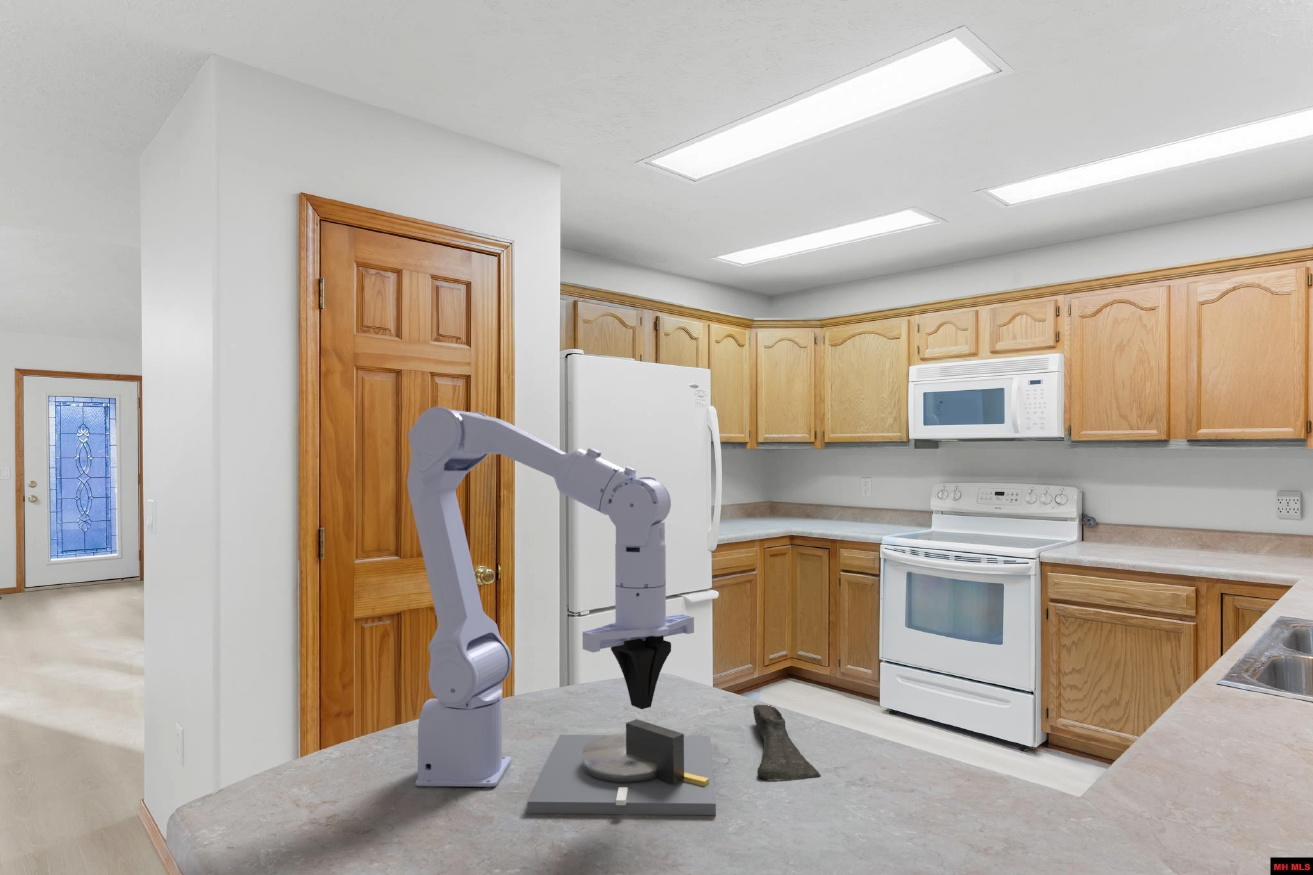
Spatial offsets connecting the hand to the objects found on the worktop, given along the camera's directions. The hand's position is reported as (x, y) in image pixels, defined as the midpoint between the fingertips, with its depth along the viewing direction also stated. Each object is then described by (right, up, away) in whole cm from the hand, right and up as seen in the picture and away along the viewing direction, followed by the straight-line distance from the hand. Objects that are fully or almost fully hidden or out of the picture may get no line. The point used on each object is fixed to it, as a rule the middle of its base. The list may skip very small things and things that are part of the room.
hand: (641, 706), depth 84 cm
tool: (+18, -11, +13) cm, 25 cm away
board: (-2, -10, +5) cm, 11 cm away
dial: (-1, -9, +4) cm, 9 cm away
